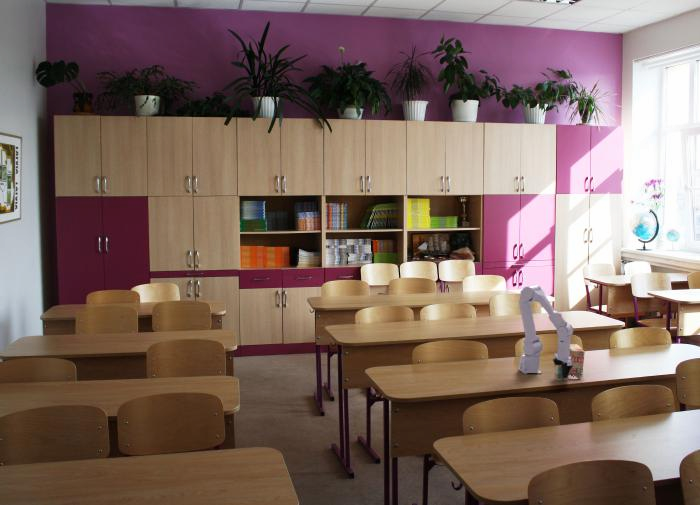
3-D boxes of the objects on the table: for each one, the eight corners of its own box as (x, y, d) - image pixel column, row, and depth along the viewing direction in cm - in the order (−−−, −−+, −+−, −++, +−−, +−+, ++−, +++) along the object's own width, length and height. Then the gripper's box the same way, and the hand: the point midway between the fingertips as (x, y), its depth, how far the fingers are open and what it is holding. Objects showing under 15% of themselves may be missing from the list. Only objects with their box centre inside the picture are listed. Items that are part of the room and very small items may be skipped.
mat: (569, 379, 346) (569, 379, 346) (562, 375, 353) (562, 374, 353) (580, 379, 347) (580, 378, 347) (573, 374, 354) (573, 374, 354)
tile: (556, 380, 345) (557, 366, 344) (554, 378, 347) (555, 365, 346) (568, 380, 346) (569, 366, 345) (565, 378, 348) (567, 364, 347)
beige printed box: (558, 361, 378) (560, 339, 376) (570, 361, 378) (572, 339, 376) (570, 373, 356) (572, 350, 355) (582, 374, 356) (584, 350, 355)
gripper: (578, 352, 338) (576, 380, 340) (564, 344, 352) (562, 370, 354) (564, 353, 337) (562, 380, 339) (551, 344, 351) (549, 371, 353)
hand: (561, 375), depth 346 cm, fingers open, 6 cm apart
